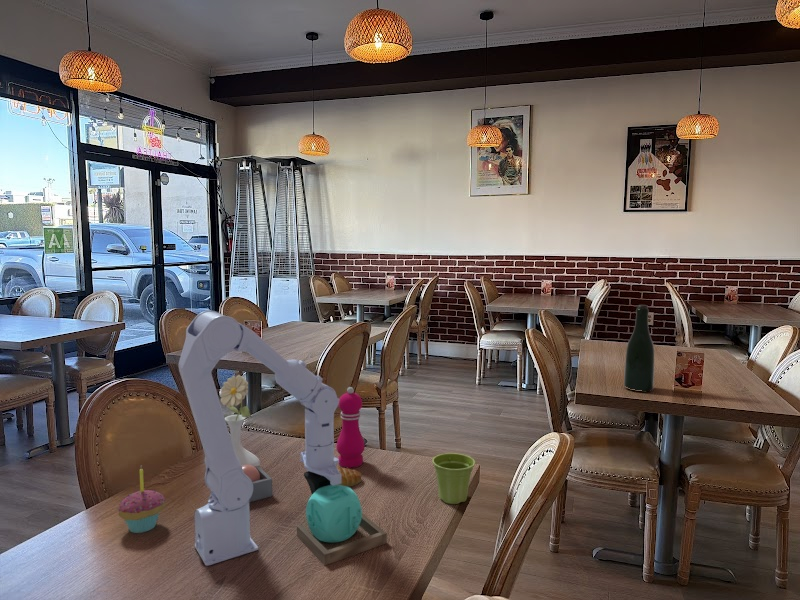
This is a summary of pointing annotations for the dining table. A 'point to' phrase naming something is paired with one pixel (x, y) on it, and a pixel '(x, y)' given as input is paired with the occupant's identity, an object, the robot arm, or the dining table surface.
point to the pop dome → (251, 472)
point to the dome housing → (261, 486)
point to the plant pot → (453, 476)
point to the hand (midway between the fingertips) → (320, 505)
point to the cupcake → (141, 508)
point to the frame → (345, 550)
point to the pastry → (349, 477)
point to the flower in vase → (237, 416)
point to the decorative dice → (333, 513)
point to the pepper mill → (350, 431)
